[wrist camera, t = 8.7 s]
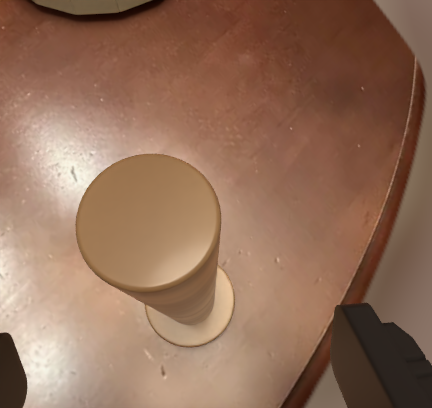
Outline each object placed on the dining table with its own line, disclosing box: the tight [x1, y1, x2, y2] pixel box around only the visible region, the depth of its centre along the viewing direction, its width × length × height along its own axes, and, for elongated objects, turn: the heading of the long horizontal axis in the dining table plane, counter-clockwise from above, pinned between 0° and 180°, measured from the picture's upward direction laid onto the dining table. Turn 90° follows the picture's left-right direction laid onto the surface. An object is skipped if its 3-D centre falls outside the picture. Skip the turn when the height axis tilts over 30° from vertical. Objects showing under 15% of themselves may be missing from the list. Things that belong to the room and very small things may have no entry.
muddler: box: [76, 154, 235, 347], centre depth 14 cm, size 4×4×15 cm
